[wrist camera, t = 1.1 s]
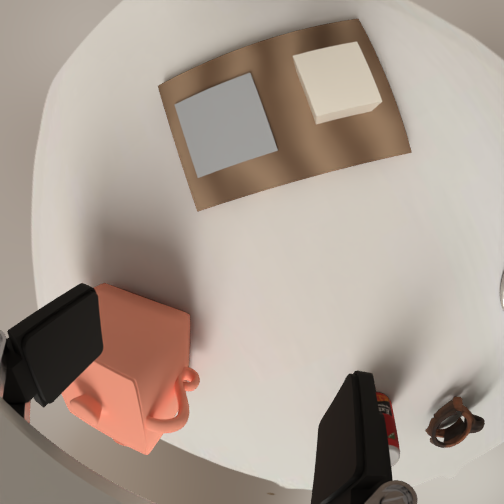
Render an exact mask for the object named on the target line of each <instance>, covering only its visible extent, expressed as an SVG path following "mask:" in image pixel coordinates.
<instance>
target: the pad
mask: <svg viewBox="0 0 504 504" xmlns="http://www.w3.org/2000/svg"><path fill="white" fill-rule="evenodd" d="M175 108H176V111H177V114H178V118H179V121H180V124H181V127H182V130H183V134H184V137H185V140H186V143H187V146H188V149H189V152H190V155H191V159H192V162H193V165H194V168H195V171H196V174H197V177H198V178H200V177H202V176H205V175H208V174H210V173H213V172H216V171H219V170H221V169H224V168H227V167H230V166H233V165H236V164H238V163H241V162H244V161H247V160H250V159H253V158H256V157H259V156H263V155H266V154H269V153H272V152H275V151H278V149H277V146H276V143H275V140H274V137H273V134H272V131H271V128H270V125H269V122H268V119H267V116H266V113H265V111H264V108H263V105H262V102H261V100H260V97H259V94H258V91H257V89H256V86H255V83H254V81H253V78H252V75H251V73H248V74H245V75H242V76H239V77H237V78H234V79H232V80H229V81H226V82H224V83H221V84H219V85H217V86H214V87H212V88H209V89H207V90H205V91H203V92H200V93H198V94H196V95H194V96H191V97H189V98H187V99H185V100H183V101H181V102H179V103H177V104H175Z"/></svg>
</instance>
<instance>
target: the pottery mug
mask: <svg viewBox="0 0 504 504" xmlns="http://www.w3.org/2000/svg"><path fill="white" fill-rule="evenodd" d="M462 400H463V399H462V398H461V397H454V398H453V400H452V401H449V402H448V403H447V404H445V405H444V406H443V407H442V408H440V409H439V410H438V411H437V412H436V413H435V414H434V418H432V419H431V421H430V424H429V426H428V428H427V429H426V430H425V431H426V432H427V434H428V435H430V436H431V437H432V438H430V442H431V443H432V444H434V445H435V446H438V447H442V448H444V447H452V446H455V445H456V444H459V443H460V442H462V441H463V440H464V439H465V438H466V436H467V435H468V434H469V433H476V432H479V431H480V430H482V429H483V427H484V424H485V423H484V419H483V418H481V417H479V416H476V415H473V414H472V413H471V412H470V411H469V410H468V408H467V407H465V406H464V405H463V403H462ZM456 411H460V412H462V416H464V417H465V419H464V422H463V421H462V419H461V418H460V417H459V418H458V420H457V421H456V422H455V423H454V424H453V425H451V426H450V427H448V428H446V429H437V428H438V426H439V425H440V423H441V422H442V421H443V420H445V419H446V418H448V417H450V416H452V415H456V414H457V412H456ZM436 437H442V438H444V442H440V441H439V440H438V439H437V438H436Z"/></svg>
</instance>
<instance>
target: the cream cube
mask: <svg viewBox="0 0 504 504" xmlns="http://www.w3.org/2000/svg"><path fill="white" fill-rule="evenodd" d="M293 60H294V64H295V68H296V72H297V75H298V77H299V80H300V82H301V85H302V87H303V90H304V93H305V95H306V98H307V100H308V103H309V106H310V109H311V111H312V114H313V117H314V120H315V123H316V124H320V123H324V122H328V121H332V120H336V119H340V118H344V117H348V116H352V115H357V114H361V113H366V112H371V111H372V110H373V109H375V108H376V107H377V106H378V105H379V104H380V103H381V102H382V99H381V96H380V94H379V91H378V88H377V86H376V83H375V81H374V78H373V76H372V74H371V71H370V69H369V67H368V64H367V62H366V60H365V58H364V55H363V53H362V51H361V49H360V47H359V45H358V43H357V42H352V43H346V44H341V45H336V46H331V47H326V48H322V49H317V50H313V51H309V52H305V53H301V54H298V55H294V56H293Z"/></svg>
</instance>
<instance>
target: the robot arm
mask: <svg viewBox="0 0 504 504" xmlns="http://www.w3.org/2000/svg"><path fill="white" fill-rule="evenodd" d="M500 301H501V306H502V308H503V310H504V274H503V278H502V282H501V289H500ZM8 335H9V338H8V339H6V336H5V334H4V333H3V332H2V331H1V330H0V504H157V503H154V502H152V501H150V500H148V499H145V498H143V497H141V496H139V495H137V494H135V493H133V492H131V491H129V490H127V489H125V488H123V487H121V486H119V485H117V484H115V483H114V482H112V481H110V480H108V479H106V478H105V477H103V476H101V475H100V474H98V473H96V472H95V471H93V470H91V469H90V468H88V467H87V466H85V465H84V464H82V463H81V462H79V461H78V460H76V459H75V458H73V457H72V456H70V455H69V454H67V453H66V452H65V451H63V450H62V449H60V448H59V447H58V446H56V445H55V444H54V443H52V442H51V441H50V440H49V439H47V438H46V437H45V436H43V435H42V434H41V433H40V432H39V431H37V430H36V429H35V428H34V427H33V426H31V425H30V401H31V399H32V398H33V397H34V399H35V401H36V402H38V403H39V404H40V405H41V406H43V407H45V406H46V405H47V404H48V403H52V402H54V400H55V399H56V398H57V397H58V396H59V395H60V394H61V393H62V392H63V391H64V390H65V389H66V388H67V387H68V386H69V385H70V384H71V383H72V382H73V381H74V380H75V379H76V378H77V377H78V376H79V375H80V374H81V373H82V372H83V371H84V370H85V369H86V368H87V367H88V366H90V365H91V364H92V363H93V362H94V361H95V360H96V359H97V358H98V357H99V356H100V355H101V353H102V351H103V339H102V331H101V322H100V312H99V301H98V295H97V294H96V290H95V289H94V288H92V287H90V286H88V285H86V284H84V283H81V284H79V285H77V286H76V287H74V288H72V289H71V290H69V291H67V292H66V293H64V294H63V295H61V296H59V297H58V298H56V299H55V300H53V301H52V302H50V303H48V304H47V305H45V306H44V307H42V308H41V309H39V310H38V311H36V312H35V313H33V314H31V315H30V316H28V317H27V318H26V319H24V320H22V321H21V322H20V323H18V324H17V325H15V326H14V327H12V328H11V329H9V330H8ZM311 504H417V495H416V493H415V491H414V489H413V488H412V487H411V486H410V485H409V484H407V483H405V482H403V481H398V480H394V481H392V470H391V460H390V452H389V444H388V436H387V429H386V423H385V417H384V415H383V413H381V412H379V408H378V401H377V395H376V390H375V384H374V378H373V375H372V373H367V372H362V371H355V372H354V373H353V374H348V376H347V377H346V379H345V381H344V383H343V385H342V386H341V388H340V390H339V392H338V393H337V395H336V397H335V398H334V400H333V402H332V403H331V405H330V407H329V408H328V410H327V412H326V413H325V415H324V416H323V418H322V420H321V421H320V424H319V428H318V440H317V452H316V463H315V473H314V482H313V490H312V499H311Z"/></svg>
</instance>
